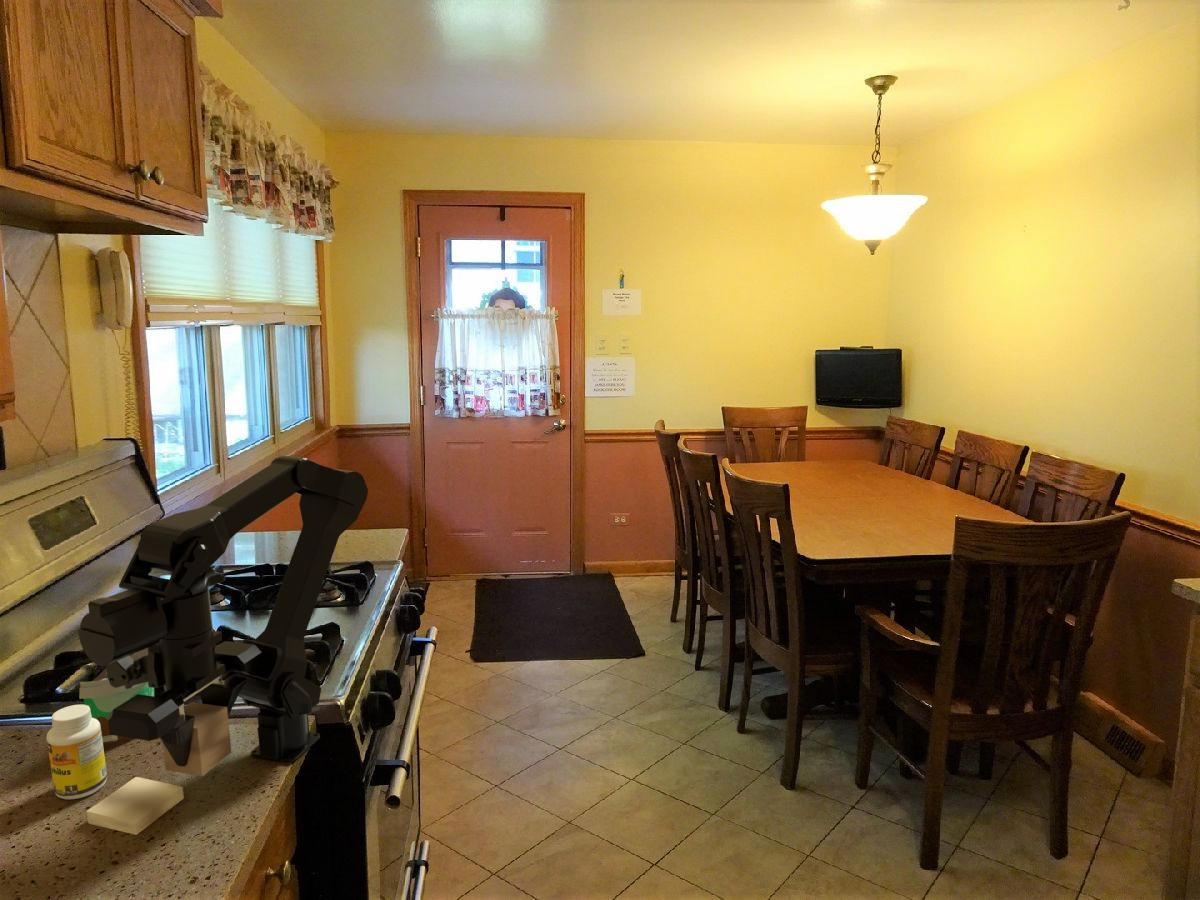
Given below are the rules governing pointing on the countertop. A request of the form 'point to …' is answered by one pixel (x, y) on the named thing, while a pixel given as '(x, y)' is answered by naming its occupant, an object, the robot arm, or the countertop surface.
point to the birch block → (135, 805)
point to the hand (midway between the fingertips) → (198, 753)
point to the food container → (109, 702)
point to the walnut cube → (204, 739)
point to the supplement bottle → (76, 753)
